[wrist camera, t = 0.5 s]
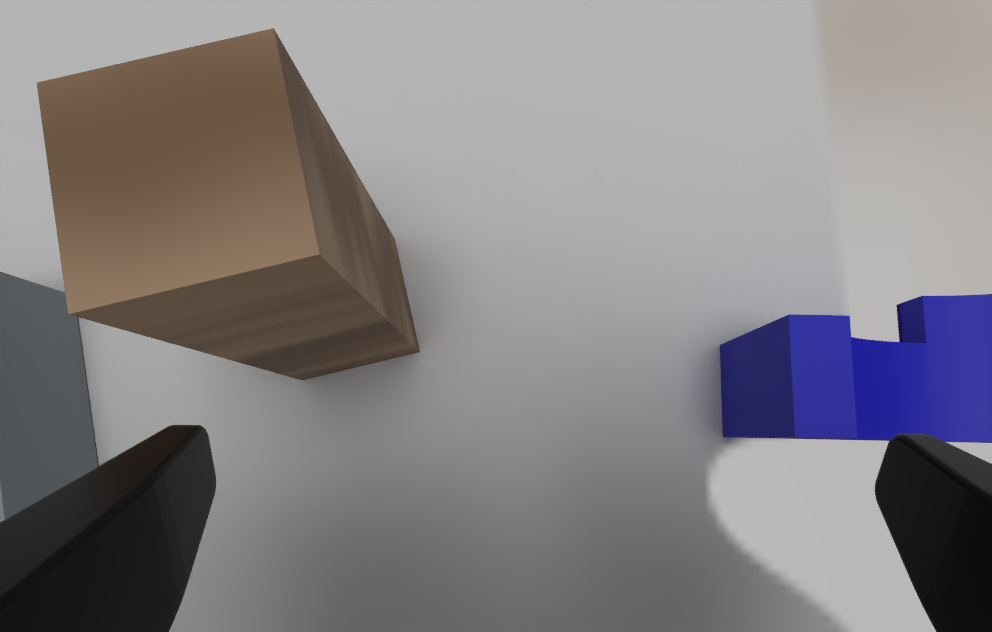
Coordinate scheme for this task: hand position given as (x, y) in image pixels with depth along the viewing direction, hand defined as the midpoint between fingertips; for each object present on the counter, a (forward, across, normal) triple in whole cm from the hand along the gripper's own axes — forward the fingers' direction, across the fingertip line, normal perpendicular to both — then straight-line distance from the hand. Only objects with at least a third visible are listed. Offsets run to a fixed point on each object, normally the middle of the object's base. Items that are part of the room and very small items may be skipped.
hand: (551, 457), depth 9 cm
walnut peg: (+14, +5, +4) cm, 16 cm away
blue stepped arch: (+12, -13, +6) cm, 19 cm away
